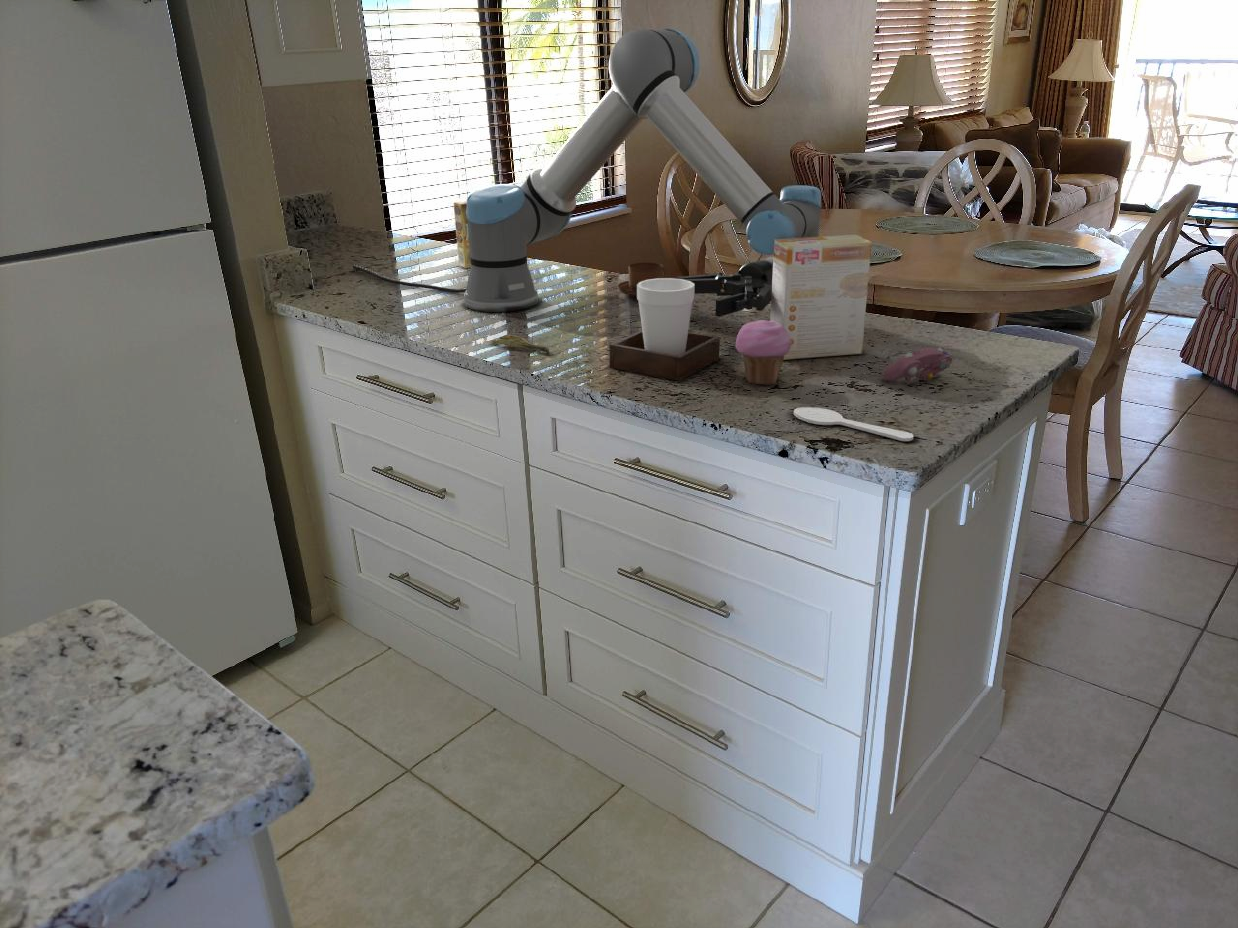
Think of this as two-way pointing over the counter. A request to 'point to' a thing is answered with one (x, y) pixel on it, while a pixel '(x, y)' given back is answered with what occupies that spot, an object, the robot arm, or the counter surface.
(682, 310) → the foam cup
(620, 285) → the cup and saucer
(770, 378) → the cupcake
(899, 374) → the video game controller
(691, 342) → the wooden tray
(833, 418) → the spoon
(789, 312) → the coffeecake box
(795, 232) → the robot arm
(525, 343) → the olive green tapered piece
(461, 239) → the candy box
